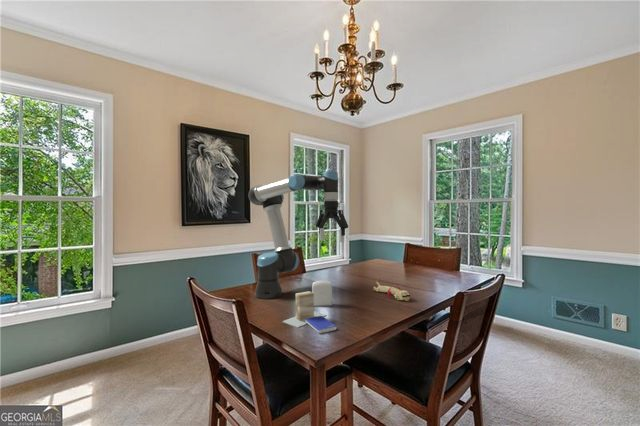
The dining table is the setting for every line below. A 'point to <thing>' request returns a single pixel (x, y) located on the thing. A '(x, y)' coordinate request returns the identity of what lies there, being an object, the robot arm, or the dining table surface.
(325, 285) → the photo printer
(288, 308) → the dining table surface
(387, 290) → the cat figure
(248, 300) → the dining table surface
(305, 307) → the birch block
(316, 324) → the hard drive
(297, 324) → the mat
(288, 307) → the dining table surface
